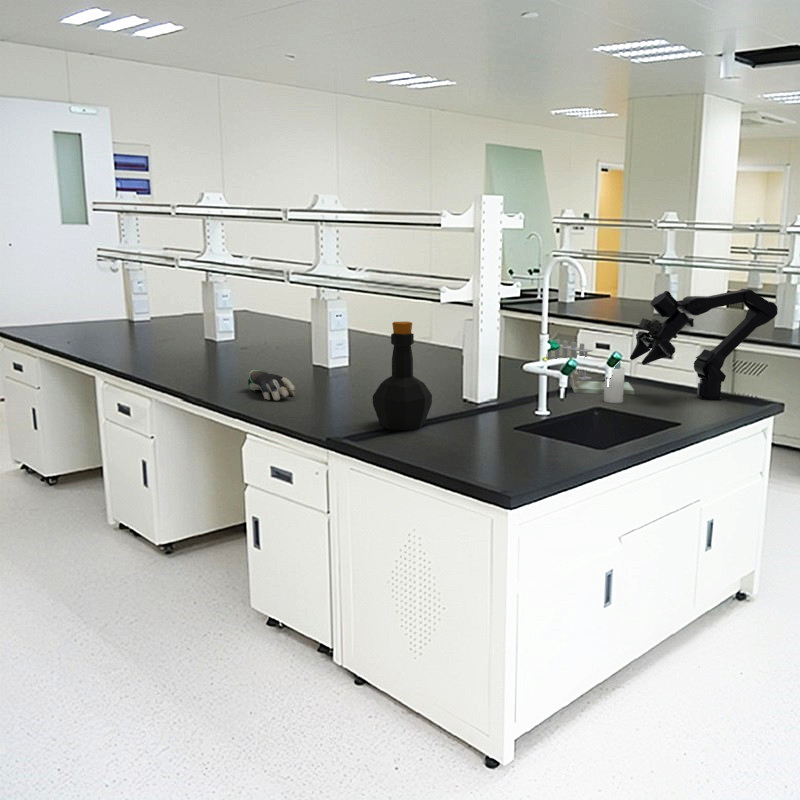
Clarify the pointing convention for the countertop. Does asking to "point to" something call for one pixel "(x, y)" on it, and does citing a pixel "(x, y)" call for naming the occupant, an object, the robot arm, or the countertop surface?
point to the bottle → (402, 387)
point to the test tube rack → (572, 354)
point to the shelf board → (593, 386)
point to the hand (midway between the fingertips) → (636, 361)
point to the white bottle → (615, 386)
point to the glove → (270, 384)
